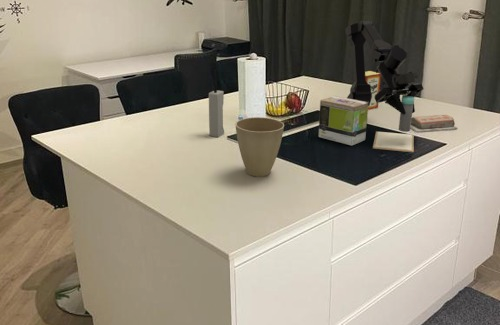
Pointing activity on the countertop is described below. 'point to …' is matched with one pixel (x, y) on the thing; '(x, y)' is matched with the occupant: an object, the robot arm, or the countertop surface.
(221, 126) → the vintage mobile phone
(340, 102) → the tea box
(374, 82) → the baking soda box
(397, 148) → the notepad
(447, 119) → the packaged product
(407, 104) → the gray bottle teal cap
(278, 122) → the plant pot
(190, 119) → the countertop surface
